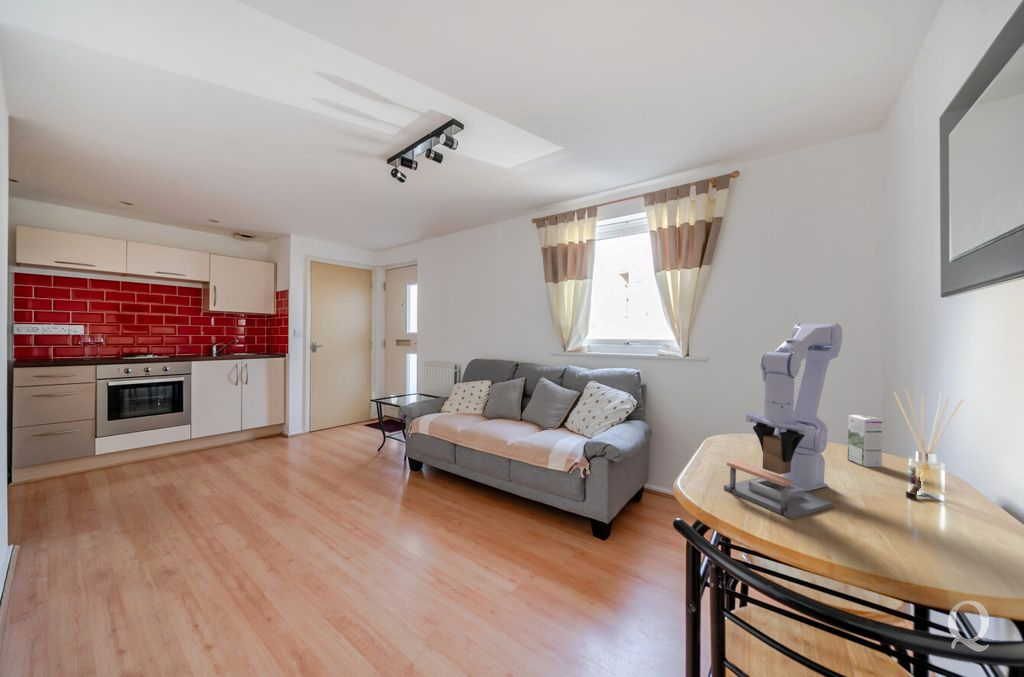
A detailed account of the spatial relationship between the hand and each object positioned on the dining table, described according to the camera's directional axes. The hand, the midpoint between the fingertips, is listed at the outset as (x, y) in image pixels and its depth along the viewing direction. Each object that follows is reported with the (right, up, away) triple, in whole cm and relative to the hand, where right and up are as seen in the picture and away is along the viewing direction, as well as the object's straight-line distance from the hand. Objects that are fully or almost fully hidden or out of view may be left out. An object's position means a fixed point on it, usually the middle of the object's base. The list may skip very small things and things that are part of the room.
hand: (776, 458), depth 90 cm
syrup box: (+44, -10, +25) cm, 52 cm away
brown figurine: (+36, -10, +3) cm, 38 cm away
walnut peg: (0, -3, 0) cm, 3 cm away
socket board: (0, -10, 0) cm, 10 cm away
